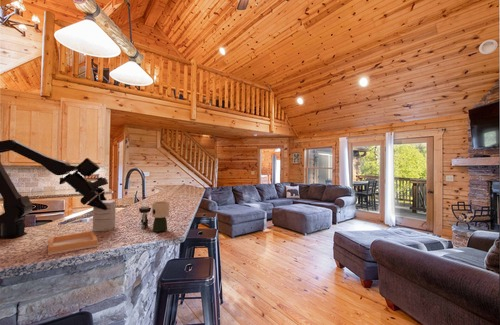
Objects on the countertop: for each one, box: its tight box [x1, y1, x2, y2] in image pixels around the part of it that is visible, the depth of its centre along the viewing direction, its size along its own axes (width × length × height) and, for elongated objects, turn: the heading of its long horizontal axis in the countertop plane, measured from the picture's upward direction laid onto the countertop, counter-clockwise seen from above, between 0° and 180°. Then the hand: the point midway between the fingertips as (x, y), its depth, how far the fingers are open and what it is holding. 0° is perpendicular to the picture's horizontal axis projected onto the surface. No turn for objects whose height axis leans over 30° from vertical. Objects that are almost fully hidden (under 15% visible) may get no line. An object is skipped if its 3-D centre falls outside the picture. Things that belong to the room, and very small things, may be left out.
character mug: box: [151, 200, 170, 233], centre depth 102 cm, size 11×7×13 cm, turn 24°
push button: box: [138, 205, 152, 229], centre depth 107 cm, size 7×5×10 cm
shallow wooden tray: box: [47, 230, 99, 256], centre depth 82 cm, size 13×13×2 cm
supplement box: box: [92, 199, 116, 232], centre depth 103 cm, size 7×7×13 cm
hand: (108, 207), depth 104 cm, fingers closed on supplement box, 7 cm apart
